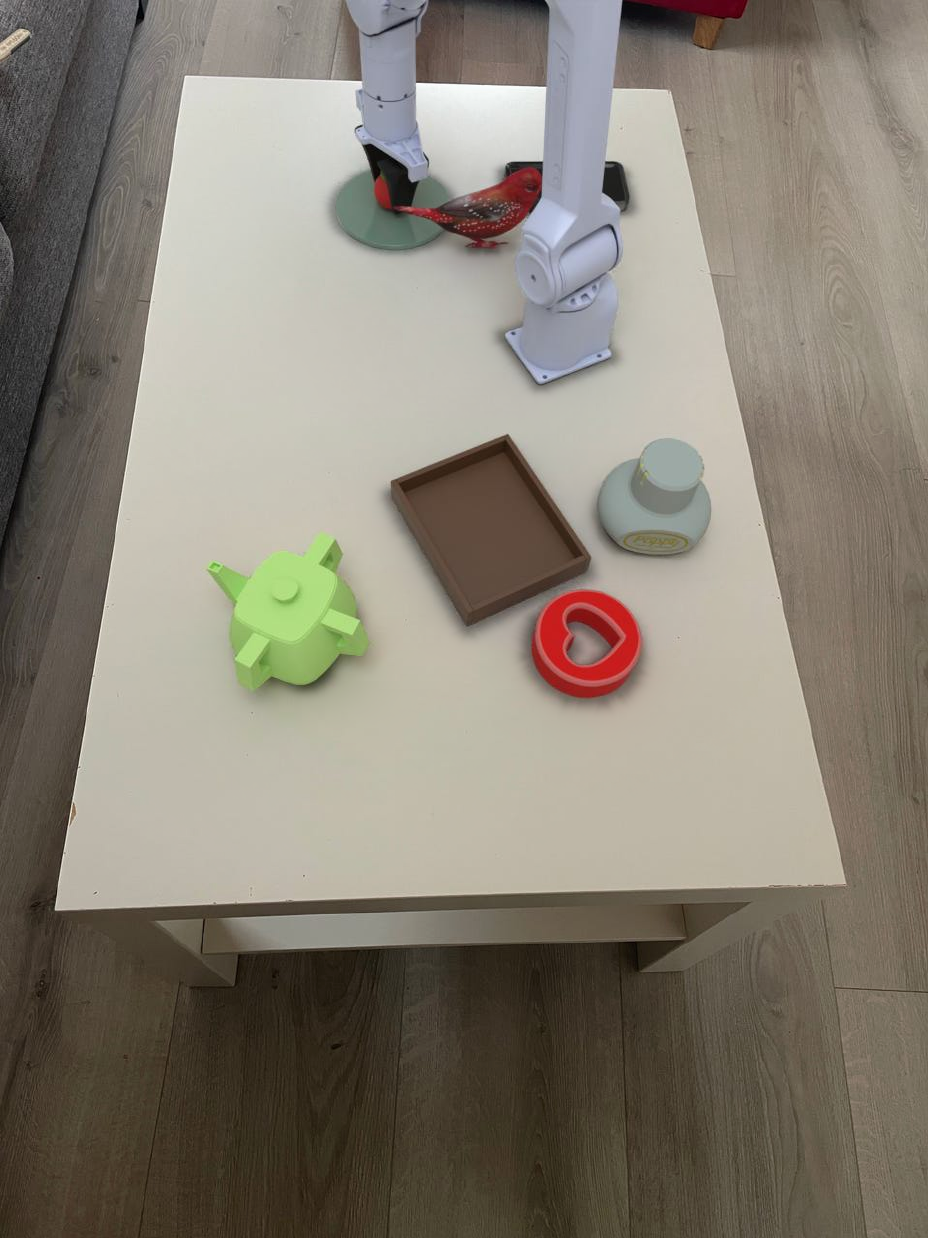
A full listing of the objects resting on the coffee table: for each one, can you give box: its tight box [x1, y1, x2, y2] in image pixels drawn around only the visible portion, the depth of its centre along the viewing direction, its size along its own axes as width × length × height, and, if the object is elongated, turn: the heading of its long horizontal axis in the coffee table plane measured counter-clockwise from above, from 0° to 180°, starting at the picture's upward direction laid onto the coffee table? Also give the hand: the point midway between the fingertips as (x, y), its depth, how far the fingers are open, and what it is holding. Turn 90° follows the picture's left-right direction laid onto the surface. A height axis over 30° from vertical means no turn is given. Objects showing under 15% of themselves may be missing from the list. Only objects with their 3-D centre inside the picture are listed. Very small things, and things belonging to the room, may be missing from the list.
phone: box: [504, 160, 631, 212], centre depth 106 cm, size 8×1×15 cm
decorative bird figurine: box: [393, 168, 542, 249], centre depth 97 cm, size 3×18×10 cm, turn 98°
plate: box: [335, 169, 451, 251], centre depth 104 cm, size 14×14×1 cm
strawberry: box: [374, 171, 392, 210], centre depth 102 cm, size 4×4×4 cm
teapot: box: [205, 531, 371, 692], centre depth 74 cm, size 12×12×10 cm
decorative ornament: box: [531, 588, 643, 699], centre depth 78 cm, size 10×10×3 cm
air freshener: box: [597, 437, 712, 555], centre depth 81 cm, size 11×8×10 cm
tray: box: [390, 433, 592, 627], centre depth 83 cm, size 13×16×3 cm
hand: (393, 198), depth 103 cm, fingers closed on strawberry, 4 cm apart
